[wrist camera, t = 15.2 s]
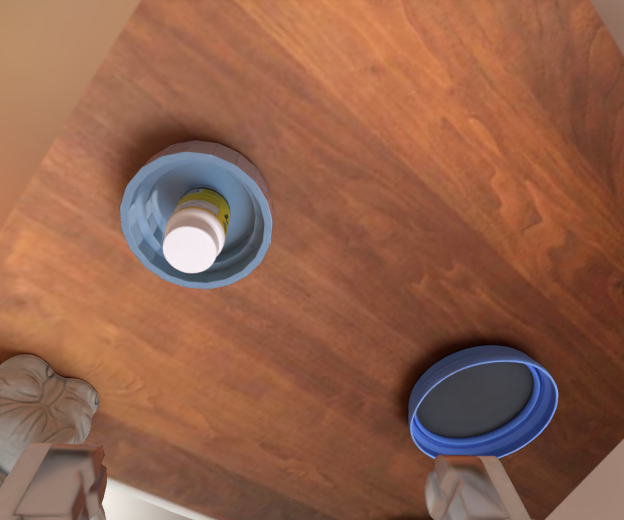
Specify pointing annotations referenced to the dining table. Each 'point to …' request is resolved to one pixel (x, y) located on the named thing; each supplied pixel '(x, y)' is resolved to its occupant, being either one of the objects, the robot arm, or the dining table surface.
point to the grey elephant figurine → (41, 410)
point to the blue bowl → (168, 191)
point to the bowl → (481, 403)
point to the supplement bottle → (197, 229)
